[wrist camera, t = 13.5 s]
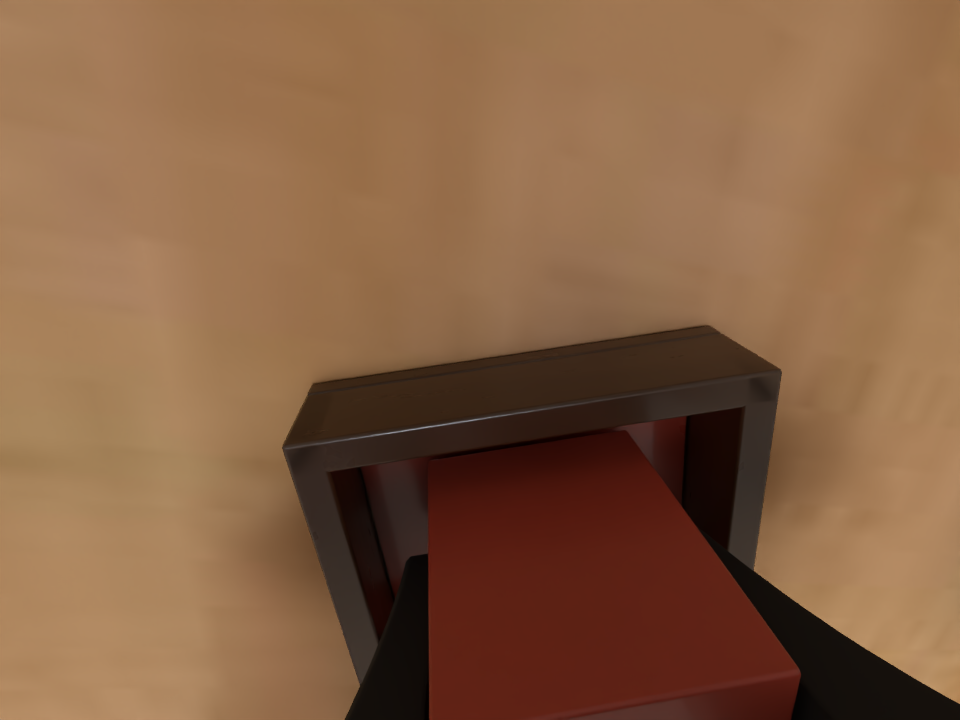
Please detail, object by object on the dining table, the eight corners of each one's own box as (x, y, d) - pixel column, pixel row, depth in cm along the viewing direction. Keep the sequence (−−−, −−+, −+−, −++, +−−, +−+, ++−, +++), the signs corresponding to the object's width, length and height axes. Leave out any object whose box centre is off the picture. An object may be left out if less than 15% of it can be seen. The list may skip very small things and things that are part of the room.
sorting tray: (679, 729, 17) (719, 819, 15) (422, 777, 17) (422, 877, 14) (709, 324, 11) (784, 369, 9) (311, 383, 11) (279, 447, 8)
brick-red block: (626, 576, 12) (762, 862, 7) (454, 605, 12) (475, 921, 7) (627, 428, 11) (804, 672, 6) (426, 459, 11) (428, 741, 5)
